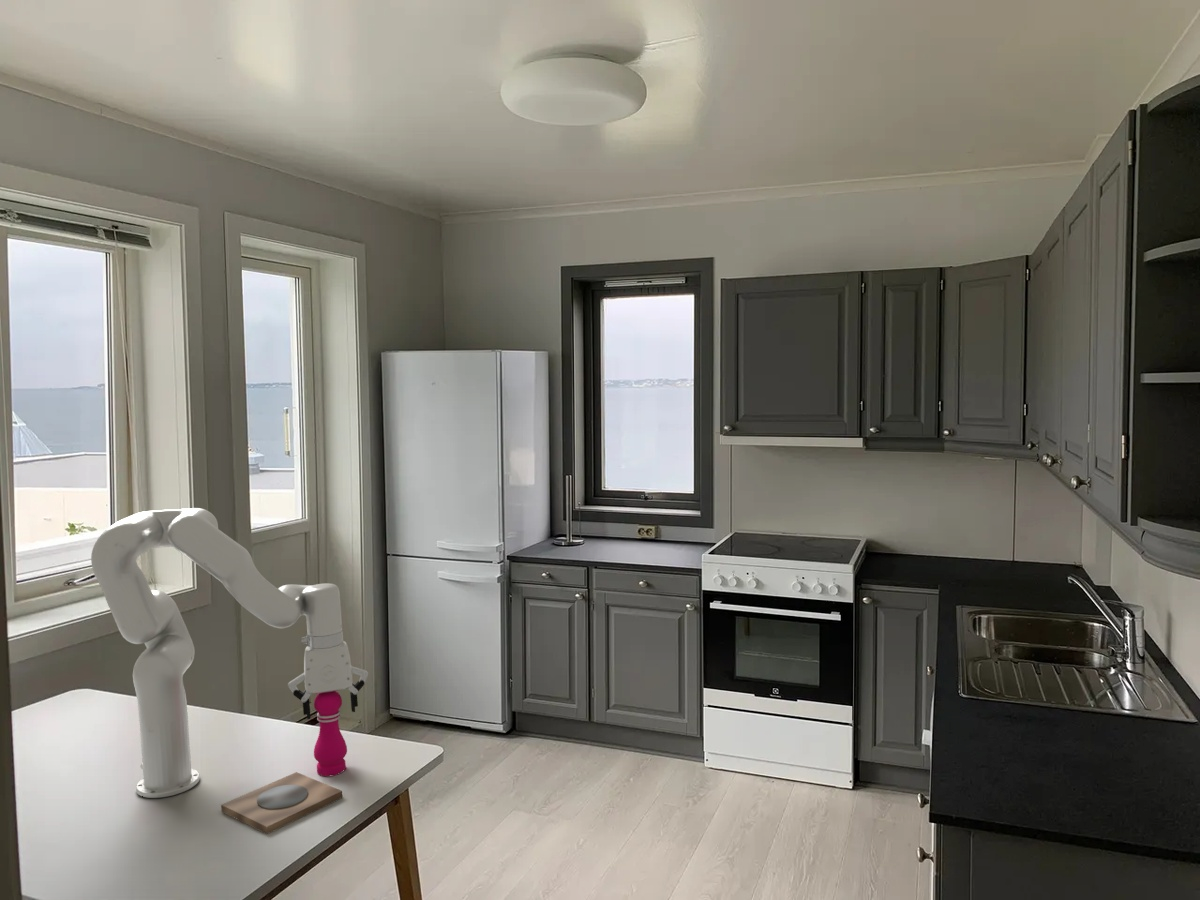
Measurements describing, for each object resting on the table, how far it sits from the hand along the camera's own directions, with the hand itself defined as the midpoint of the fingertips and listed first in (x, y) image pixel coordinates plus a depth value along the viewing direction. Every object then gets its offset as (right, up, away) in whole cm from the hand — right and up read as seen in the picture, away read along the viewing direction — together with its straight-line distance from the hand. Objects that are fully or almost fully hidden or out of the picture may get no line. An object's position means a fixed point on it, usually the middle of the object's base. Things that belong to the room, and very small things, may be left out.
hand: (331, 713), depth 203 cm
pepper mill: (0, -13, +1) cm, 13 cm away
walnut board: (-6, -15, -15) cm, 22 cm away
